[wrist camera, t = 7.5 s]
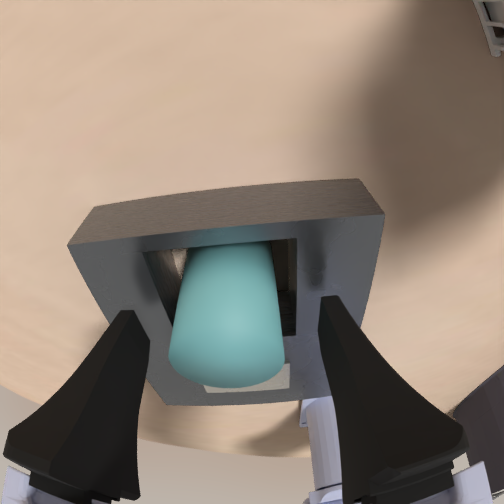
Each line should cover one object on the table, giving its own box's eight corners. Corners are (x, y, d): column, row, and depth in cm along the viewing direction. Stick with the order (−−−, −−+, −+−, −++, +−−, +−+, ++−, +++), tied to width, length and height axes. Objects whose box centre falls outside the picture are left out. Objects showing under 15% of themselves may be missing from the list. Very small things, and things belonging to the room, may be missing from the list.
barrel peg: (272, 282, 16) (283, 385, 11) (196, 286, 16) (183, 388, 11) (271, 216, 13) (287, 324, 9) (181, 222, 13) (154, 329, 9)
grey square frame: (332, 359, 21) (339, 397, 18) (171, 370, 21) (166, 407, 19) (358, 178, 12) (387, 217, 10) (94, 207, 13) (64, 248, 10)
